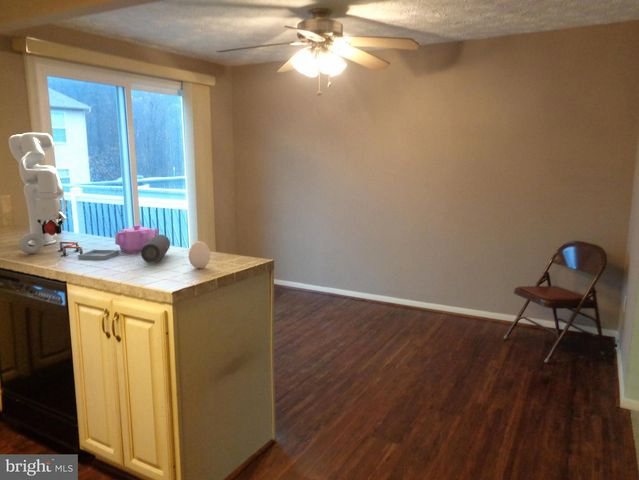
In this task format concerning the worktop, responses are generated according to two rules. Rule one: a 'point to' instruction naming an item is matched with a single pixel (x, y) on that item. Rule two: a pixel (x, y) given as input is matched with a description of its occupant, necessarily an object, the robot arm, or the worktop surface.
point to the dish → (98, 254)
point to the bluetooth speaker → (155, 248)
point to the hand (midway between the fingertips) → (52, 233)
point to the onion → (50, 227)
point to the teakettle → (134, 238)
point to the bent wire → (63, 248)
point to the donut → (26, 238)
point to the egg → (199, 254)
